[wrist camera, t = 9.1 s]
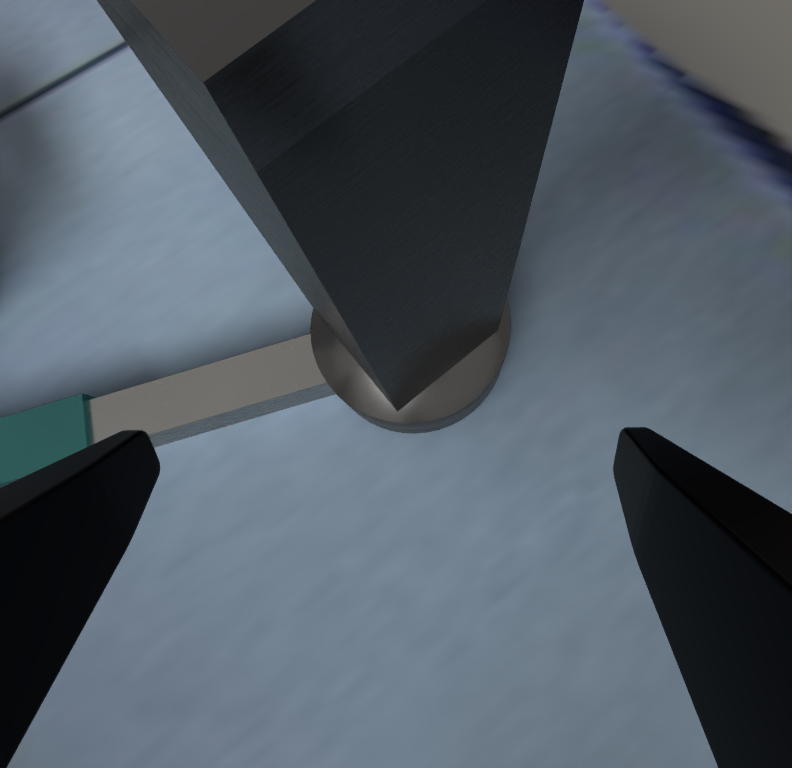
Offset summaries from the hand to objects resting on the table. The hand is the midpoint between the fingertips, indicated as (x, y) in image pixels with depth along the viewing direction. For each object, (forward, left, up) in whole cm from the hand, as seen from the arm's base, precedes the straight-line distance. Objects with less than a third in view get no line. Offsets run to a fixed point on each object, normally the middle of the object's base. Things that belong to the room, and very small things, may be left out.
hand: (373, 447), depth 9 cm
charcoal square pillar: (+5, -1, -7) cm, 8 cm away
